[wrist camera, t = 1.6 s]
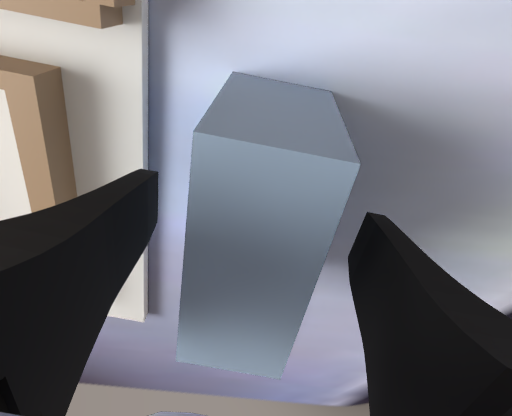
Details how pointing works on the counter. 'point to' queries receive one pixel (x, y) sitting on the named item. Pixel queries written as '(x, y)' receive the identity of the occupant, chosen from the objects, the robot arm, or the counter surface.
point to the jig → (73, 109)
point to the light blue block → (259, 221)
